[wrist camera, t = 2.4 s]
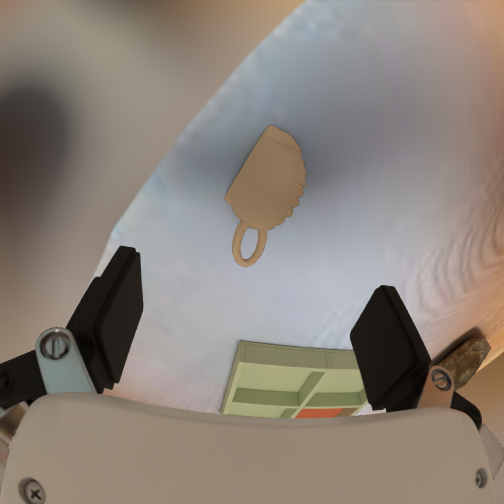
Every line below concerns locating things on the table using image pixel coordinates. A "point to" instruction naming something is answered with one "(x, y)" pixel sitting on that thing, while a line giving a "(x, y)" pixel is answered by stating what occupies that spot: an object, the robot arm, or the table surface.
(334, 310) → the table surface
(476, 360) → the stone
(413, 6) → the table surface
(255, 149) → the decorative ornament
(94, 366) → the robot arm
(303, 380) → the grid
